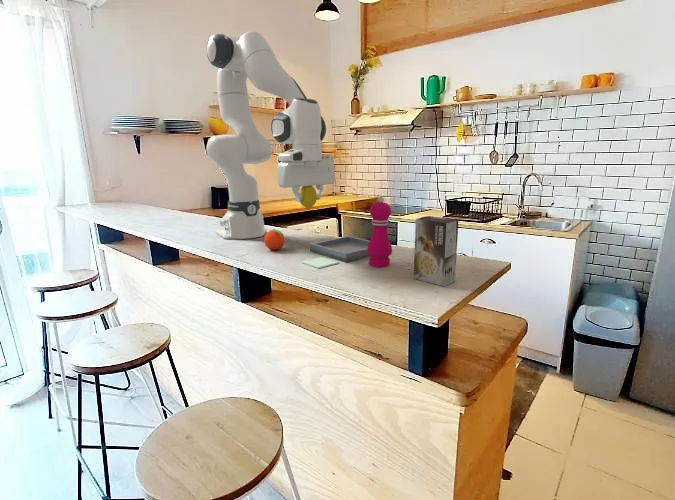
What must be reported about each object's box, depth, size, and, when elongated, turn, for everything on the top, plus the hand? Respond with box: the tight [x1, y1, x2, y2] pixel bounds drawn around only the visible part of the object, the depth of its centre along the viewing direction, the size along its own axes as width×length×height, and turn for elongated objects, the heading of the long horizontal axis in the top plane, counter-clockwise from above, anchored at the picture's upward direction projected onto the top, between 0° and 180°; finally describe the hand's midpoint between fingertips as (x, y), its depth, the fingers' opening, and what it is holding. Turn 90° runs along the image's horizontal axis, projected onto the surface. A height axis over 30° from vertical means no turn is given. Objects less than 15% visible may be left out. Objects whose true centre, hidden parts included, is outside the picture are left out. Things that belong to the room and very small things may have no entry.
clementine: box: [263, 229, 286, 251], centre depth 128 cm, size 8×7×7 cm
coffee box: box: [413, 215, 460, 287], centre depth 96 cm, size 9×6×16 cm
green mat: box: [301, 256, 340, 269], centre depth 113 cm, size 8×8×1 cm
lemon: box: [299, 186, 317, 210], centre depth 117 cm, size 6×6×8 cm
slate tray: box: [309, 235, 371, 263], centre depth 125 cm, size 18×18×3 cm
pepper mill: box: [367, 196, 393, 268], centre depth 109 cm, size 7×7×20 cm
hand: (308, 200), depth 117 cm, fingers closed on lemon, 5 cm apart
